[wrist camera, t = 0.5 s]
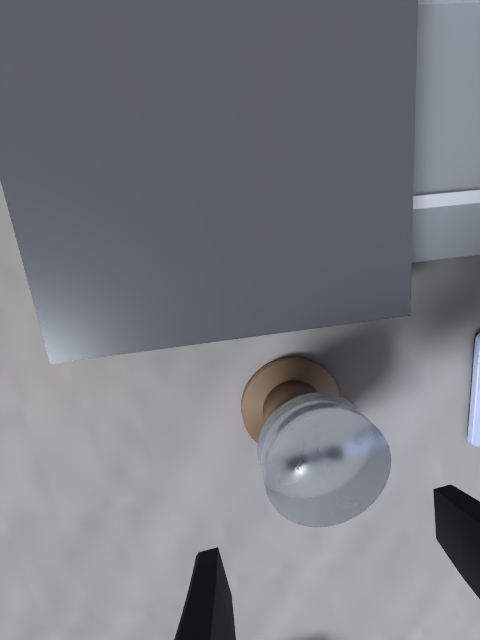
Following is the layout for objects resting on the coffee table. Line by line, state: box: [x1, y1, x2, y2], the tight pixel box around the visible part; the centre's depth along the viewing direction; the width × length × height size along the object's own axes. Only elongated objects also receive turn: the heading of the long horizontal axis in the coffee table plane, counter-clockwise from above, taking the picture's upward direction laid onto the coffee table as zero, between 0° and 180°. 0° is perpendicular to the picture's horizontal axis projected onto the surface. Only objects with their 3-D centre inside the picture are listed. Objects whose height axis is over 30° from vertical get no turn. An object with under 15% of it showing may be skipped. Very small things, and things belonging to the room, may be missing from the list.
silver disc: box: [257, 392, 391, 527], centre depth 12 cm, size 5×5×2 cm
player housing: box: [0, 0, 418, 364], centre depth 11 cm, size 14×18×5 cm
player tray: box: [411, 0, 480, 263], centre depth 12 cm, size 13×17×3 cm
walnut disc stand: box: [241, 357, 340, 443], centre depth 15 cm, size 6×6×4 cm
